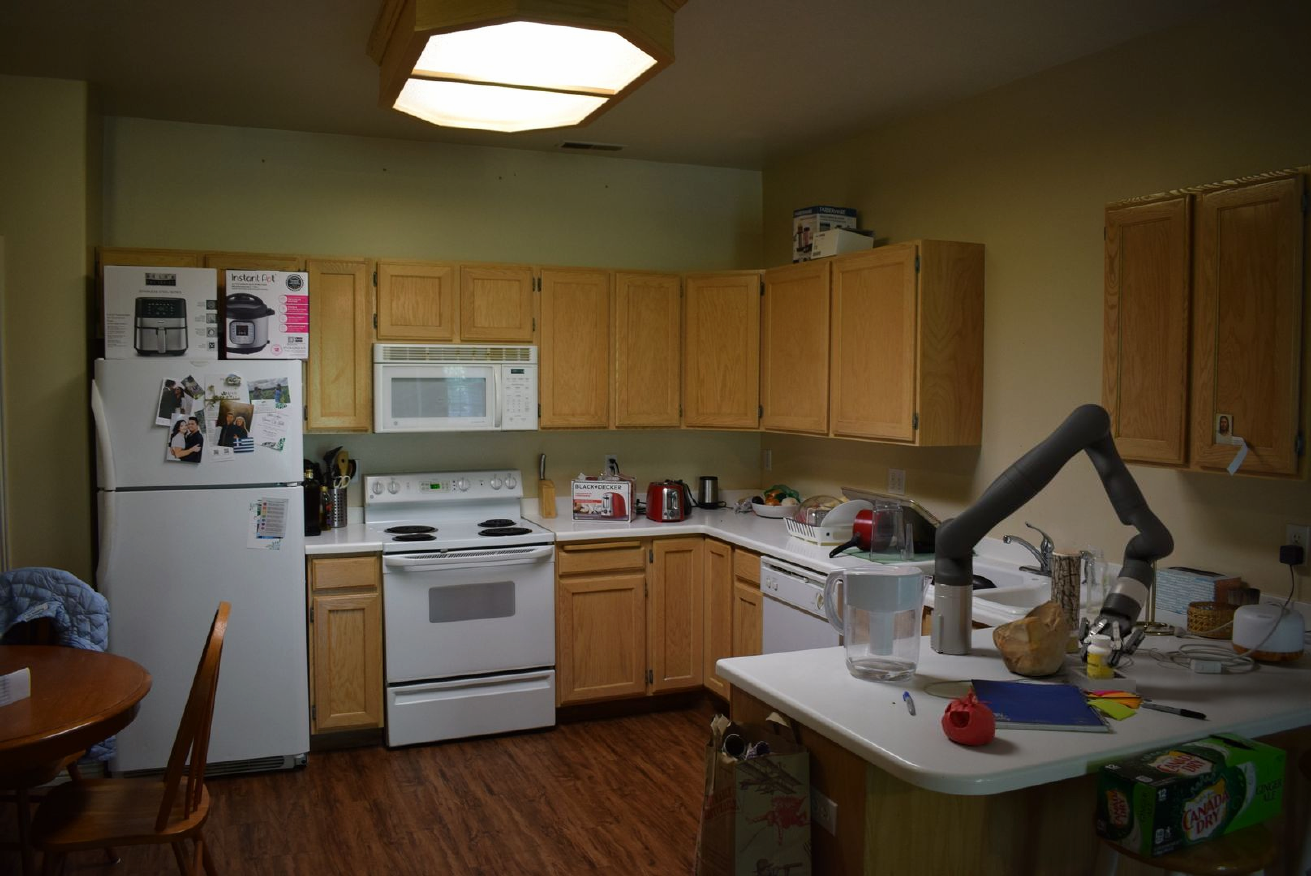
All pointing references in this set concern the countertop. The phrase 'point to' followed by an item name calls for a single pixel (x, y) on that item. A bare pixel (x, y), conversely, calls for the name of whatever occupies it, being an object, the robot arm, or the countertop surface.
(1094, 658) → the supplement bottle
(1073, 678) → the shallow grey tray
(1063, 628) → the rough brown rock
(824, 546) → the countertop surface
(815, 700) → the countertop surface
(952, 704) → the pomegranate
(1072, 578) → the brown bark log
